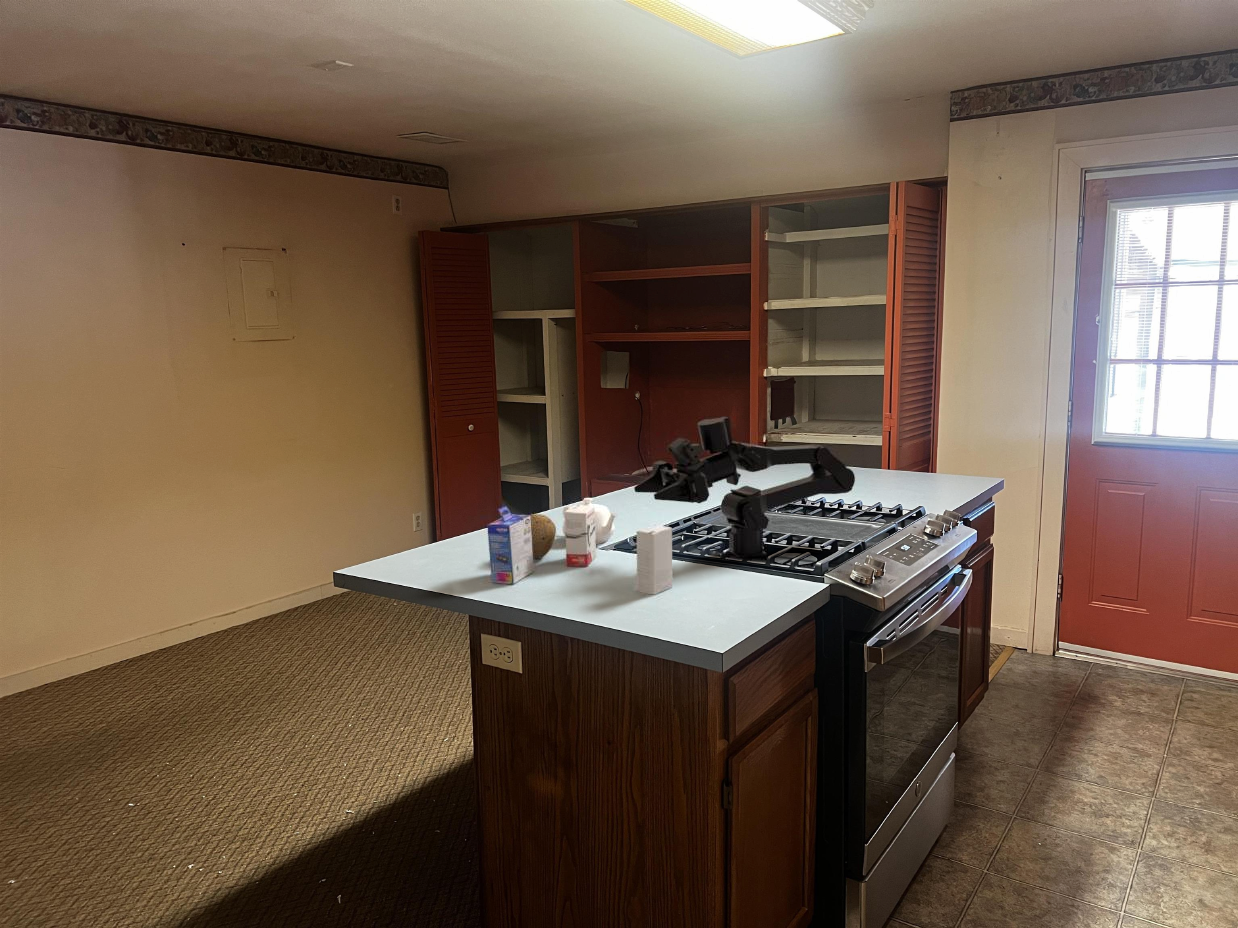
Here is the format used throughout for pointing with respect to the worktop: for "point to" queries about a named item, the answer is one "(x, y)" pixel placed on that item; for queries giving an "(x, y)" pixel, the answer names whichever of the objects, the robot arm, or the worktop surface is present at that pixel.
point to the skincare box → (654, 559)
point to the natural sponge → (542, 534)
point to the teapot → (599, 521)
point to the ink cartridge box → (510, 547)
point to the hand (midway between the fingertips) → (644, 493)
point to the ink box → (580, 535)
